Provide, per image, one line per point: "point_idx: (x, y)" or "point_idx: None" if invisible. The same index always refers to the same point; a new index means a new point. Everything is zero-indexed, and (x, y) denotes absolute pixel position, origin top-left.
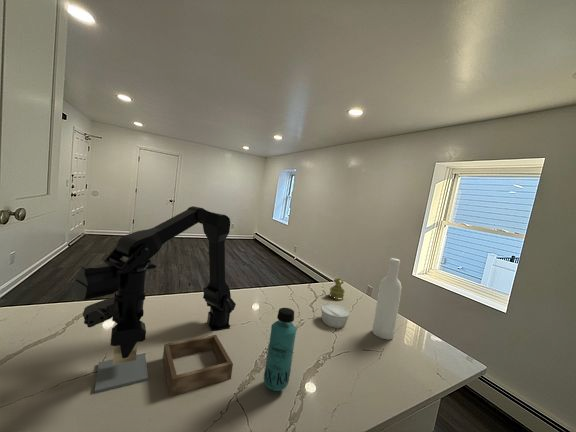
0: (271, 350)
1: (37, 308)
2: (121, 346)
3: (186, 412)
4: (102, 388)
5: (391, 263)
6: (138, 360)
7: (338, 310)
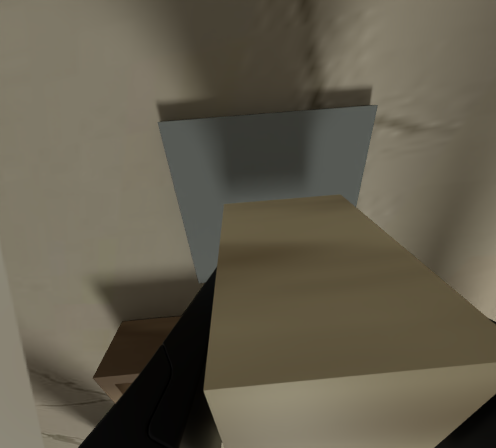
0: None
1: None
2: (148, 369)
3: (66, 343)
4: (168, 152)
5: None
6: None
7: None
